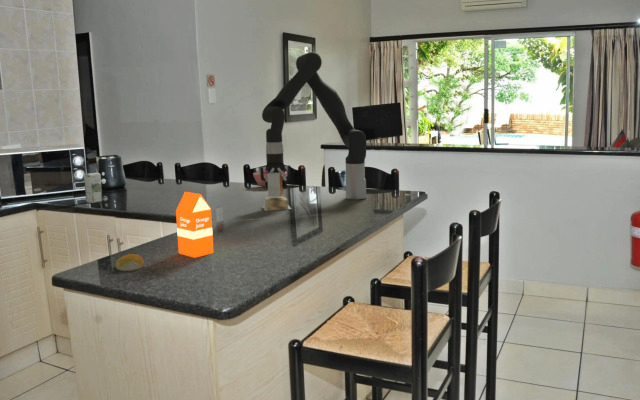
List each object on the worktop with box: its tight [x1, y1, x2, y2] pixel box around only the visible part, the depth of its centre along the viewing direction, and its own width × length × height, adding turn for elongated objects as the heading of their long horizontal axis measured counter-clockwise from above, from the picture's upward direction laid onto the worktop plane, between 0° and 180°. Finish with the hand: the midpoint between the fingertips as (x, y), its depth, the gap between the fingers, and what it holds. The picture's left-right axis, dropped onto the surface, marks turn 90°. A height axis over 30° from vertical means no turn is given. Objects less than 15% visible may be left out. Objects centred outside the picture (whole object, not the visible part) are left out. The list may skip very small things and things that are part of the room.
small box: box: [267, 170, 285, 198], centre depth 261 cm, size 8×6×10 cm
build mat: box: [261, 204, 292, 212], centre depth 263 cm, size 12×10×1 cm
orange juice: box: [175, 191, 214, 259], centre depth 190 cm, size 8×9×20 cm
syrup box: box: [83, 172, 103, 204], centre depth 291 cm, size 6×6×14 cm
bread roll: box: [114, 253, 145, 272], centre depth 177 cm, size 8×9×4 cm
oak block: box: [264, 196, 289, 211], centre depth 263 cm, size 9×9×4 cm
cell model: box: [252, 169, 287, 188], centre depth 327 cm, size 17×20×11 cm
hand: (276, 189), depth 262 cm, fingers closed on small box, 7 cm apart
